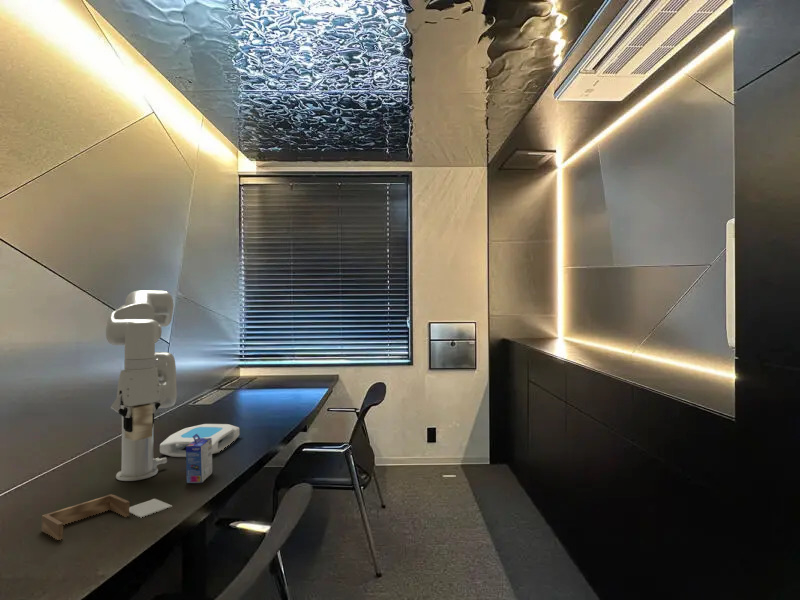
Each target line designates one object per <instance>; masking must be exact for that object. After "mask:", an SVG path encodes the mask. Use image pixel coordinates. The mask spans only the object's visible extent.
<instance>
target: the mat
mask: <svg viewBox="0 0 800 600" xmlns="http://www.w3.org/2000/svg"><path fill="white" fill-rule="evenodd" d="M172 507H173V505H172V504H169V503H167V502H164V501H162V500H160V499H157V498H151V499H150V500H147V501H144V502H140V503H138V504H134V505H131V506H129V515H132V514H133V516H134V515H135V517H136V518H139V517H140V518H139V519H143V518H145V516H146V517H148V515H149V516H150V515H151V516H152V515H153V513H154V514H157V513H159V512H162V511H165V510H168V509H170V508H172ZM167 508H168V509H167ZM156 512H157V513H156ZM142 517H143V518H142Z"/></svg>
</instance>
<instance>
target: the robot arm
mask: <svg viewBox="0 0 800 600" xmlns="http://www.w3.org/2000/svg"><path fill="white" fill-rule="evenodd" d="M124 302H125V303H124V304H123V305H120V306H119V307H118V308H117V309H116V310H114V311H112V312H111V313H110V314H109V316H108V318H107V321H106V327H105V338H106V341H108V343H109V344H111V345H113V346H124V368H123V369H121V370H120V374H119V377H118V383H117V391H116V399H115V400H114V401H113V403H112V404H111V405H110V409H111V410H114V411H115V412H116V413H118V414H119V415H120V416H121V468H120V469H121V470H119V471H118V472H117V473H116V474H115V478H116V480H118V481H122V482H133V481H134V482H135V481H141V480H146V479H150V478H151V477H153V476H156V475H157V474H158V473H159V468H158V466H159V465H162V464H163V465H164V464H166V463H167V462H168V459H167V457H166V456H165V457H161V458H159V457H157V458H154V427H155V426H154V425H155V413H157V411H158V409H166V408H171V407H173V406H175V404H176V402H177V396H178V393H177V392H178V391H177V390H178V389H177V388H178V387H177V371H176V369H177V367H176V361H175V357H174V355H173V354H172V353H171V352H166V351H157V352H156V343H157V342H158V341H159V340H160V339H161V337H162V332H163V330H162V328H164V327H165V328H166V327H168V326H169V325H170V324H171V322H172V319H173V313H174V298H173V296H172V295H171V292H168V291H166V290H149V289H148V290H145V289H143V290H142V289H141V290H134V291H132V292H130V293H129V294H127V296H126V298H125V301H124ZM146 404H150V405H153V421H152V437H149V438H145V439H140V440H136V441H133V440H130V439H127V438H125V431H127V432H132V417H131V413H132V408H133V406H140V405H146Z"/></svg>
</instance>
